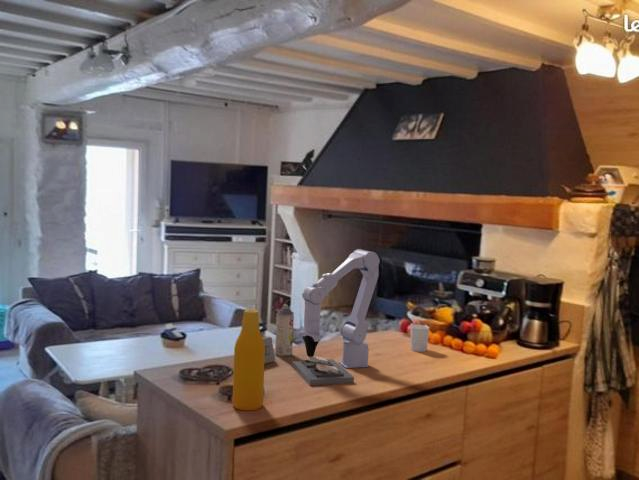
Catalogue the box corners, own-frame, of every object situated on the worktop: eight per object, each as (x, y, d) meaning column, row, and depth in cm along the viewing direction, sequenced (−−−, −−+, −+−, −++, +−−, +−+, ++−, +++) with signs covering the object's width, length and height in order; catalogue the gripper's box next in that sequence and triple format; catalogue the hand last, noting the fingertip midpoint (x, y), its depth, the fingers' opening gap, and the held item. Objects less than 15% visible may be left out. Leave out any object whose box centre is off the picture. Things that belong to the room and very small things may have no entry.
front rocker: (333, 371, 211) (334, 366, 211) (337, 374, 207) (338, 370, 207) (315, 368, 209) (316, 363, 209) (319, 371, 205) (320, 366, 205)
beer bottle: (254, 413, 174) (257, 315, 172) (226, 407, 177) (229, 311, 175) (268, 403, 183) (272, 310, 180) (241, 398, 186) (244, 306, 184)
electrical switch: (258, 366, 220) (257, 341, 220) (248, 364, 223) (247, 340, 223) (275, 361, 227) (274, 337, 227) (265, 359, 230) (265, 336, 230)
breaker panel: (332, 364, 227) (332, 354, 226) (353, 382, 206) (354, 372, 206) (291, 366, 222) (292, 356, 221) (309, 385, 201) (310, 374, 200)
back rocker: (323, 362, 222) (324, 357, 222) (327, 365, 218) (328, 360, 218) (306, 359, 219) (307, 354, 219) (309, 362, 215) (310, 357, 215)
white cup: (429, 352, 250) (430, 329, 249) (410, 351, 250) (412, 328, 249) (426, 347, 258) (427, 325, 257) (408, 346, 258) (409, 324, 257)
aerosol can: (291, 357, 233) (293, 307, 232) (273, 356, 234) (276, 306, 232) (292, 352, 240) (295, 303, 239) (276, 351, 241) (278, 302, 239)
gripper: (295, 315, 222) (294, 351, 223) (307, 324, 208) (305, 362, 209) (313, 315, 224) (312, 350, 225) (326, 323, 211) (324, 361, 212)
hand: (310, 356), depth 218 cm, fingers closed
